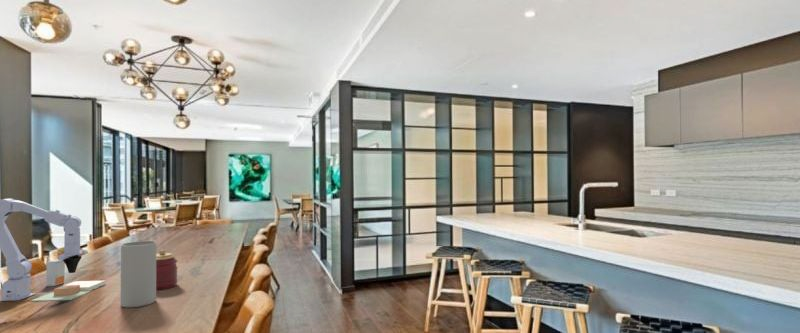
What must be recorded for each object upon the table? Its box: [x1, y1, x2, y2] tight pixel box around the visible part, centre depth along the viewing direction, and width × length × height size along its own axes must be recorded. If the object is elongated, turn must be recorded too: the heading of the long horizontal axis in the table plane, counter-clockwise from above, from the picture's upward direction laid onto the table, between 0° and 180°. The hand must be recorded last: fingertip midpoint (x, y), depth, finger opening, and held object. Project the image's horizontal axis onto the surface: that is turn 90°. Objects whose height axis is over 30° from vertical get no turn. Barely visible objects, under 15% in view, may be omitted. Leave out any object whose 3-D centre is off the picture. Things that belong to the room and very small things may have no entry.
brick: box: [53, 284, 80, 296], centre depth 183 cm, size 6×7×3 cm
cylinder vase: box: [119, 240, 157, 309], centre depth 169 cm, size 12×12×25 cm
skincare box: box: [45, 258, 66, 287], centre depth 200 cm, size 6×4×12 cm
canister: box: [156, 249, 179, 291], centre depth 195 cm, size 13×13×18 cm
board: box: [63, 280, 106, 292], centre depth 193 cm, size 12×14×2 cm
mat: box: [30, 290, 92, 302], centre depth 180 cm, size 13×16×1 cm
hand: (72, 272), depth 188 cm, fingers closed
